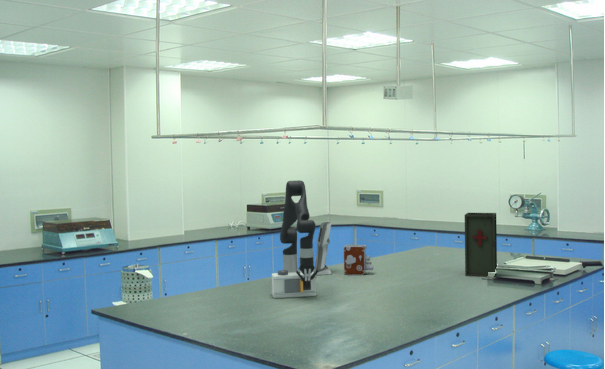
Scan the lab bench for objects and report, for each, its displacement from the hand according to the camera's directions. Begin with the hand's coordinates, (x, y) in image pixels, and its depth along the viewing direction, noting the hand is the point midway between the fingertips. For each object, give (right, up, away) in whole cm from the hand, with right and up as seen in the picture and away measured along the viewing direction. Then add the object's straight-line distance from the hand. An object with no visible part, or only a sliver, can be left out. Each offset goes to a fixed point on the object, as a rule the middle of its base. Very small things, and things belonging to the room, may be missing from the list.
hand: (307, 287), depth 310 cm
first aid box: (+116, -3, +60) cm, 130 cm away
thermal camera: (+10, -4, +73) cm, 74 cm away
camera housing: (-8, -6, +8) cm, 13 cm away
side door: (-7, -3, 0) cm, 8 cm away
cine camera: (+35, -4, +68) cm, 77 cm away
